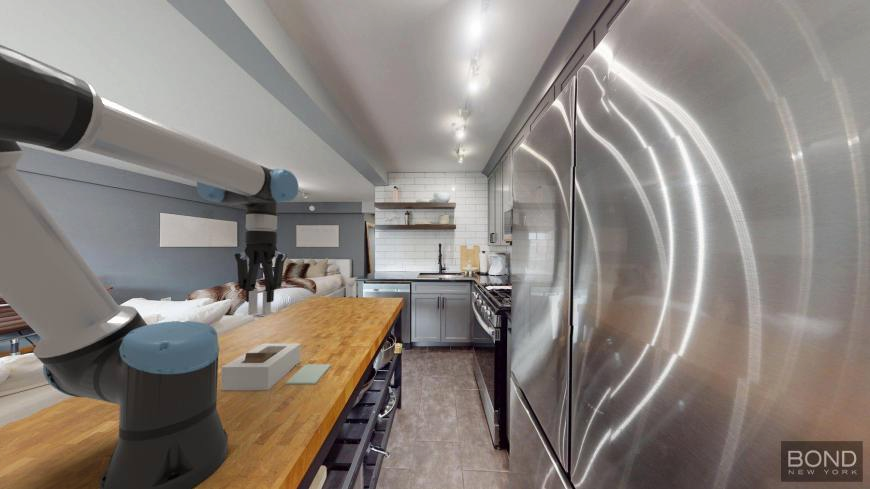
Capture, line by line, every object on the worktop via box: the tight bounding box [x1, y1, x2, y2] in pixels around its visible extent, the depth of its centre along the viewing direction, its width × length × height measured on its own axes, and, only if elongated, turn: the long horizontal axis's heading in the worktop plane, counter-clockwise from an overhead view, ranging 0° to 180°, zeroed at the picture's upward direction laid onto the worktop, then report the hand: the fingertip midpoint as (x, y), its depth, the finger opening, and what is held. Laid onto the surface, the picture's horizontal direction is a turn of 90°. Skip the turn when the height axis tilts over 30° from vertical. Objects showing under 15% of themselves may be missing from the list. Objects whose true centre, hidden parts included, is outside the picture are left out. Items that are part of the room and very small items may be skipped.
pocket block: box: [220, 343, 302, 391], centre depth 80 cm, size 18×12×6 cm, turn 1°
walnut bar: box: [244, 352, 277, 363], centre depth 81 cm, size 12×5×2 cm, turn 2°
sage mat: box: [285, 363, 332, 386], centre depth 81 cm, size 12×8×1 cm, turn 1°
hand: (259, 313), depth 78 cm, fingers open, 3 cm apart
